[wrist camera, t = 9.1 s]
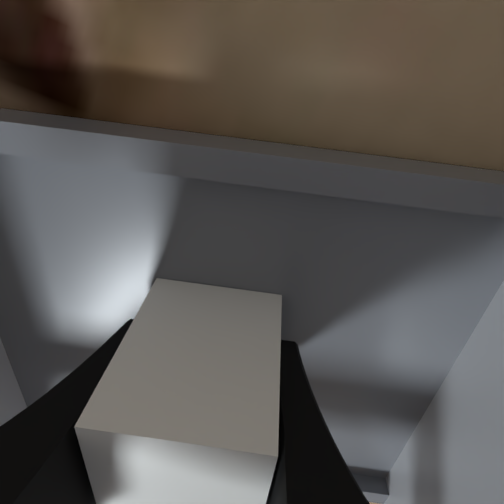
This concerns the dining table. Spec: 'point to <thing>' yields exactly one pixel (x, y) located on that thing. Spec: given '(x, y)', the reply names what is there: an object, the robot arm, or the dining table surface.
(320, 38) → the dining table surface
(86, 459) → the block
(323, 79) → the dining table surface
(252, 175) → the case
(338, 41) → the dining table surface
